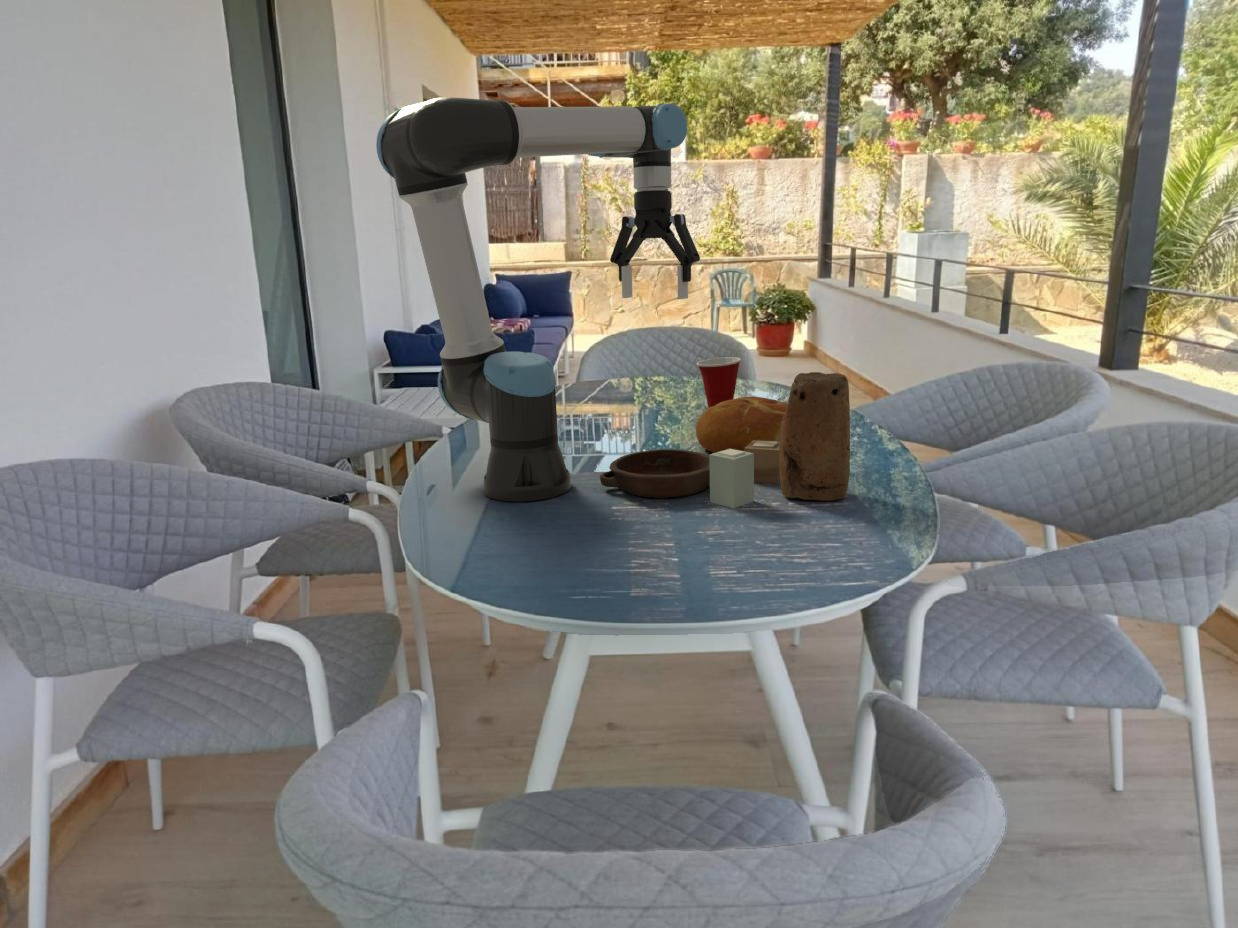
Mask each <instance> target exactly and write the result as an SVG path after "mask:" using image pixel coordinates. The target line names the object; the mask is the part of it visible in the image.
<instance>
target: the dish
mask: <svg viewBox="0 0 1238 928" xmlns="http://www.w3.org/2000/svg"><path fill="white" fill-rule="evenodd" d="M599 480H600V483H601V485H602V486H603V487H605V488H606V487H607V488H617V489H621V490H624V492H627V493H629V494H631V495H633V496H639V497H643V498H644V497H645V498H651V497H655V498H654V499H666V498H667V499H669V498H668V497H671V498H681V497H685V496H690V495H693V494H697V493H700V492H702V491H704V490H705V489H707V488H708V487H710V460H709V454H706V453H702V452H698V451H690V450H686V449H685V450H683V449H671V448H670V449H669V448H668V449H664V448H663V449H651V450H643V451H642V450H641V451H637V452H631V453H629V454H625V455H622V456H619V457H618V458H617V459H615V460H613V461H611V463H610V465H609V471H605V472H603V473H601V474H600V475H599Z"/></svg>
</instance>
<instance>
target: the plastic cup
mask: <svg viewBox="0 0 1238 928" xmlns="http://www.w3.org/2000/svg"><path fill="white" fill-rule="evenodd" d="M741 361H742V358H741V357H736V356H725V357H723V356H722V357H714V358H709V359H704V360H700V361H698V362H696V366H697V367H698V369H699V371H700V375H701V378H702V379H701V380H702V384H703V389H704V395H705V397H706V405H707V407H708V408H709V407H712V406H715V405H717V404H718V403H721V402H724V401H727V400H732V399H735V397H734V396H735V392H736V387H737V386H736V385H737V379H738V372H739V368H740V362H741ZM708 408H707V409H708Z"/></svg>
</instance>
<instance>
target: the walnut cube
mask: <svg viewBox="0 0 1238 928" xmlns="http://www.w3.org/2000/svg"><path fill="white" fill-rule="evenodd" d="M744 451H745V452H750V453H754V483H763V484H764V483H766V484H779V483H780V442H774V441H756V440H753V441H752V442H750V443H749V444H748V445H747V446H746V447H745V448H744Z"/></svg>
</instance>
